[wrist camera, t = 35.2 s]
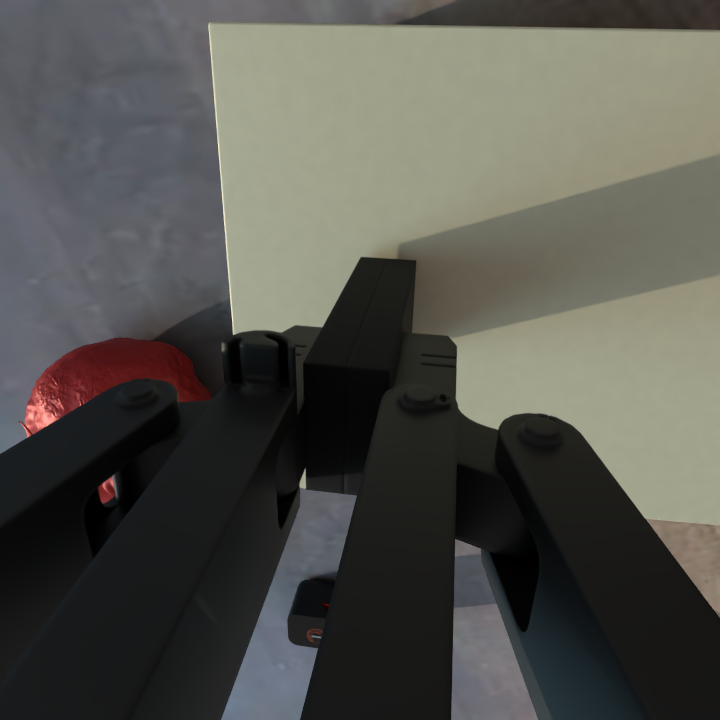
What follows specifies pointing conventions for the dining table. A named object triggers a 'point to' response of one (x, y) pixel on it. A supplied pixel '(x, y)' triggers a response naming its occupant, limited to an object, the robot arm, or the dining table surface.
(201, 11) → the dining table surface
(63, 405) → the pomegranate
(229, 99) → the cover
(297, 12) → the dining table surface
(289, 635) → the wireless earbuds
